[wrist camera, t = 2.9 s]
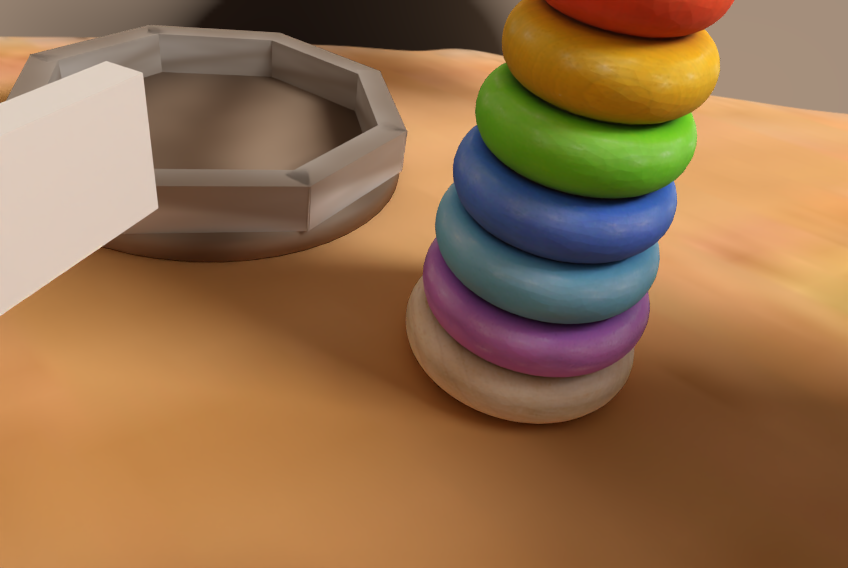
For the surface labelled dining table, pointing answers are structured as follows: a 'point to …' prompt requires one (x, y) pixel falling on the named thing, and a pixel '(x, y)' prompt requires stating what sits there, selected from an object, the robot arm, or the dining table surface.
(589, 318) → the stacking toy
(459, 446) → the dining table surface
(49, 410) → the dining table surface
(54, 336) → the dining table surface
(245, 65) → the plate
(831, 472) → the dining table surface
